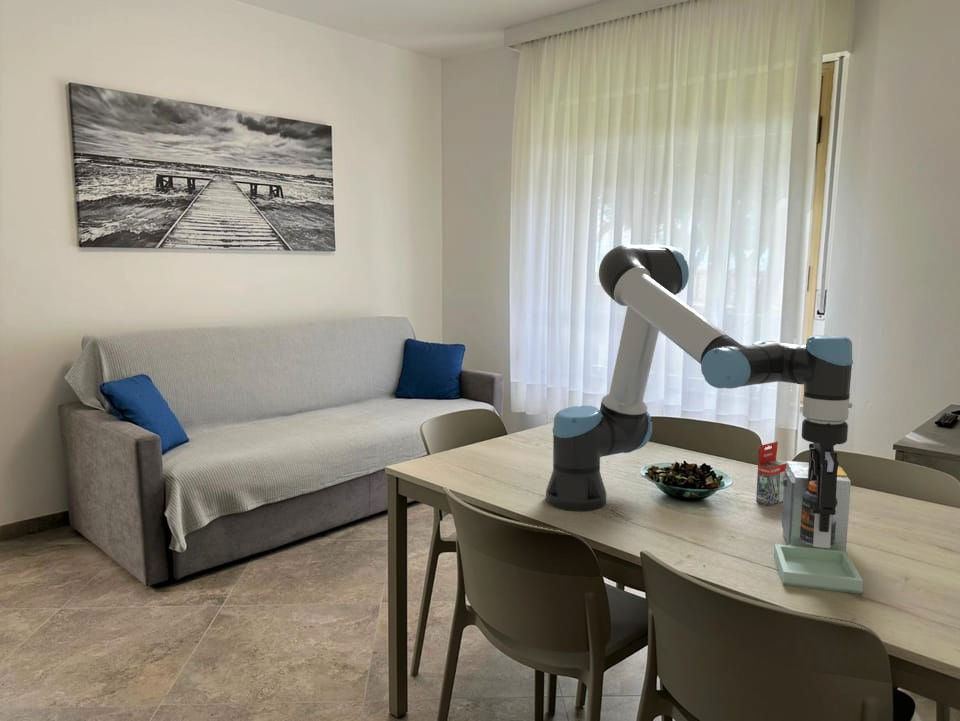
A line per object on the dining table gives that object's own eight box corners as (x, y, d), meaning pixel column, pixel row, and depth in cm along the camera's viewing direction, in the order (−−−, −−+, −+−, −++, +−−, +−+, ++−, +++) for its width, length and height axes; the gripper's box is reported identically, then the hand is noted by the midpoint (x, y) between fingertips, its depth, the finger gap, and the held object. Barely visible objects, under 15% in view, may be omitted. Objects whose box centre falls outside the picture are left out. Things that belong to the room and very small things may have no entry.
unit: (786, 552, 136) (791, 475, 134) (778, 530, 147) (782, 459, 145) (847, 558, 133) (852, 480, 130) (834, 536, 144) (839, 463, 142)
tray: (782, 584, 122) (783, 571, 122) (773, 555, 134) (774, 544, 134) (862, 594, 118) (863, 580, 118) (845, 563, 130) (846, 551, 130)
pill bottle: (793, 535, 128) (796, 478, 126) (822, 534, 128) (826, 477, 127) (811, 548, 122) (815, 488, 121) (841, 546, 123) (846, 487, 121)
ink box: (787, 500, 167) (790, 444, 165) (768, 506, 162) (771, 448, 160) (774, 496, 170) (777, 440, 168) (755, 502, 165) (758, 445, 163)
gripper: (860, 432, 112) (852, 562, 115) (836, 410, 130) (829, 523, 133) (812, 430, 114) (804, 557, 117) (794, 408, 132) (788, 520, 135)
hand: (818, 539), depth 125 cm, fingers closed on pill bottle, 6 cm apart
